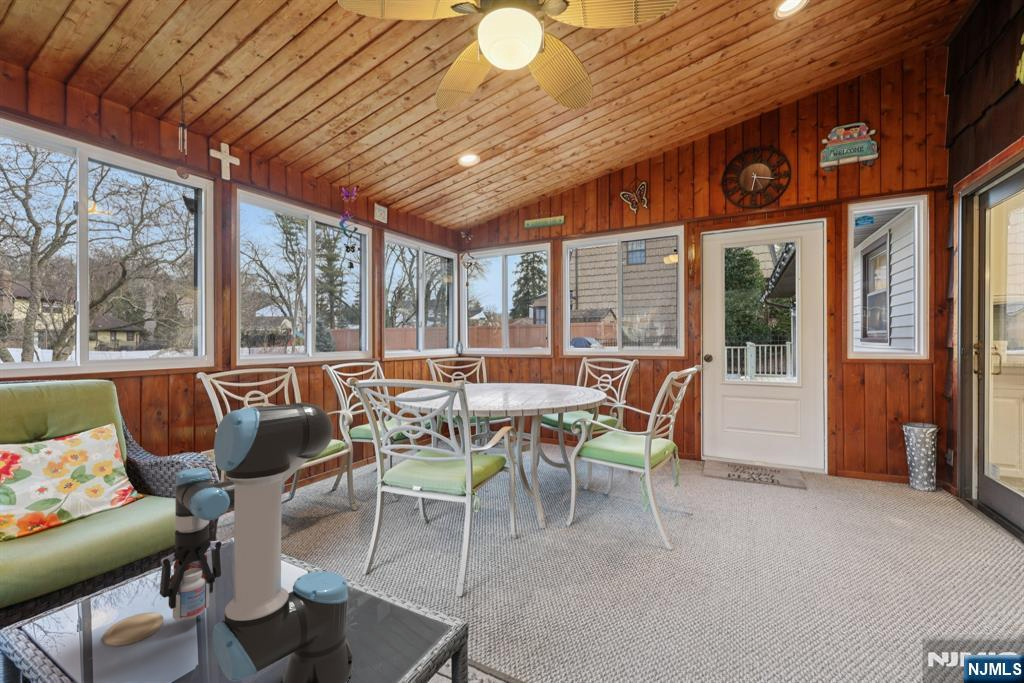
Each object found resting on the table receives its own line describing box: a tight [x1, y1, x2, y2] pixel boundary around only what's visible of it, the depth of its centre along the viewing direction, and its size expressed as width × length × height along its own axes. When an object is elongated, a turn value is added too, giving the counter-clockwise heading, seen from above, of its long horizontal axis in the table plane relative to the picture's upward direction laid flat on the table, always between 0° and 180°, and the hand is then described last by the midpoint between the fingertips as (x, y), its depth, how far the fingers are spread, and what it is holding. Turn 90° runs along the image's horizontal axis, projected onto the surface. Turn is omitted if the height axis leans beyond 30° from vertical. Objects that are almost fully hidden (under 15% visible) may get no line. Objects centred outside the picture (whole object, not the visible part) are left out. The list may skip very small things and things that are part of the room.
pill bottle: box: [178, 568, 206, 620], centre depth 120 cm, size 6×6×11 cm
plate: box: [102, 612, 164, 647], centre depth 117 cm, size 12×12×1 cm
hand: (191, 611), depth 120 cm, fingers closed on pill bottle, 6 cm apart
